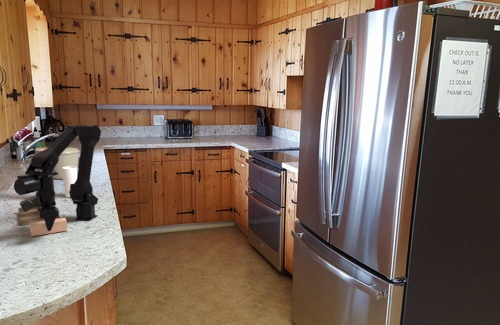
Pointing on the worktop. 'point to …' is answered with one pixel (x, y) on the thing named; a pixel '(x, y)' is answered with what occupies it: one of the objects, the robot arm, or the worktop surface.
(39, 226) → the peach long block
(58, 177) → the canister
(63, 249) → the worktop surface
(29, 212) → the brown ridged slab
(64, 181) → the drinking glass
